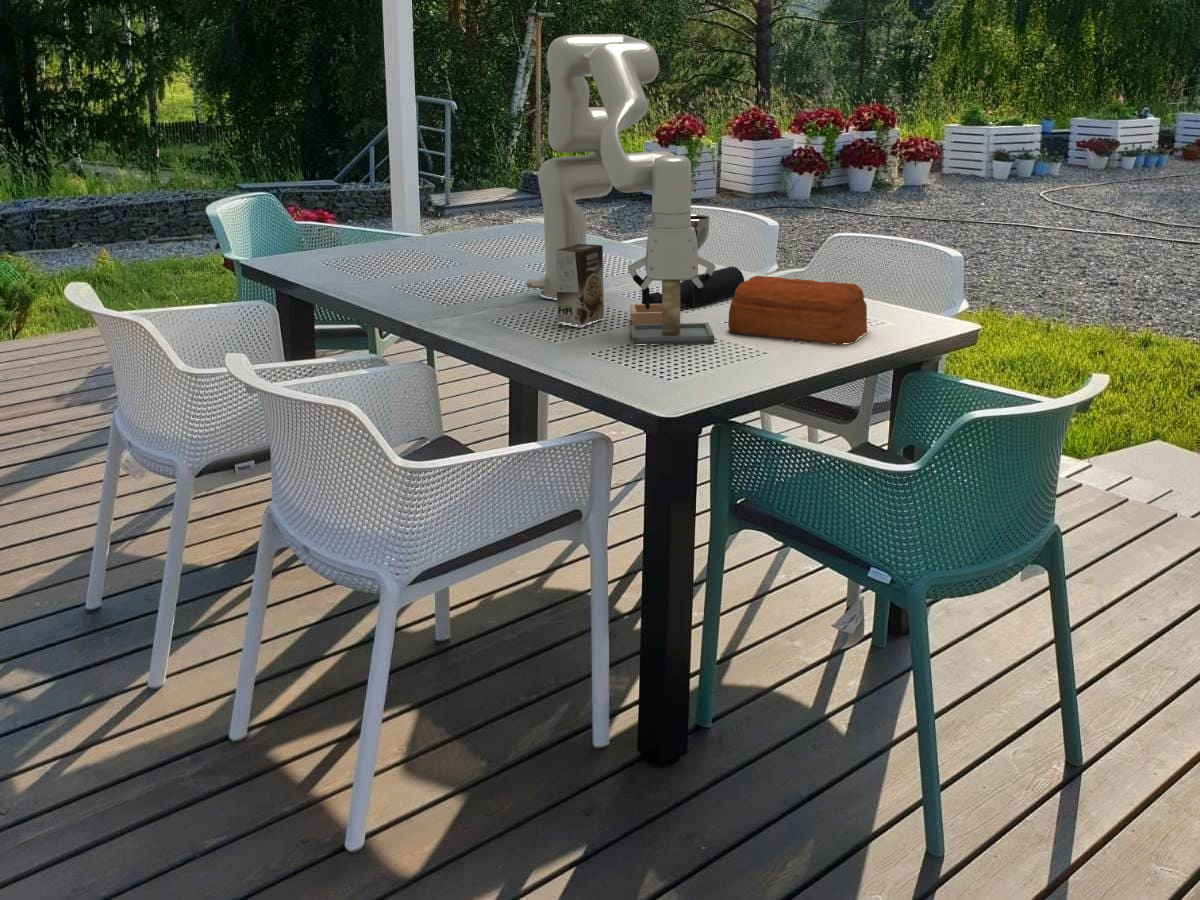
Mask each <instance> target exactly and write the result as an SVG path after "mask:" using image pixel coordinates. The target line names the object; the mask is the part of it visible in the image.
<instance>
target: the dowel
mask: <svg viewBox="0 0 1200 900" xmlns="http://www.w3.org/2000/svg"><path fill="white" fill-rule="evenodd" d="M680 283H681V280H666V281H661V294H662V334H663V335H665V336H677V335H680V323H681V304H680Z"/></svg>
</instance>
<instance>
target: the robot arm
mask: <svg viewBox="0 0 1200 900" xmlns="http://www.w3.org/2000/svg"><path fill="white" fill-rule="evenodd" d="M659 65H660V63H659V58H658V55H657V53H656V51H655V49H654V47H653V46H652V45H651V44H650V43H649V42H647V41H645V40H642V39H639V38H635V37H632V36H629V35H626V34H621V33H607V34H606V33H603V34H601V33H600V34H599V33H598V34H596V33H595V34H588V33H587V34H584V33H583V34H570V35H563V36H559V37H557V38H555V39H554V40H552V41H551V43H550V45H549V47H548V50H547V54H546V67H547V68H546V69H547V73H548V78H549V84H550V94H549V95H550V98H549V112H548V127H547V128H548V129H547V139H548V145H549V146H550V148H551V149H552V150H553V151H556V152H558V153H565V154H566V153H567V154H568V153H570V154H572V153H583V152H586V153H587V152H590V153H589V154H588V155H570V156H568V155H567V156H557V157H552V158H549V159H547V160H546V161H544V162H543V163H542V164H541V165H540V167H539V169H538V173H537V179H538V181H537V182H538V186H539V192H540V197H541V200H542V201H541V202H542V208H543V209H542V210H543V225H544V226H543V228H544V231H543V232H544V254H545V255H544V257H545V258H544V259H545V264H544V265H545V274H544V276H543V277H540V279H535V278H531V279H530V278H529V279H526V288H530V289H541V290H540V291H539V294H540V293H541V294H542V295H544V296H547V297H552V298H557V273H556V250H558V249H562V248H565V247H569V246H573V245H577V244H587V223H586V218H585V214H584V213H583V211H582V209H581V208H580V206H579V205H578V204H577V202H576V200H581V199H591V198H600V197H604V196H607V195H608V194H609V193H610V192H611V191H612V189H613V187H614V188H615V189H616V190H617V191H618V192H621V193H625V194H627V193H639V192H640V193H641V192H649V191H650V192H651V195H652V196H651V198H652V199H651V202H652V204H651V206H652V207H651V208H652V211H651V213H650V214H648V215H644V222H645V223H649V224H650V225H651V227H649V228H648V232H647V239H646V247H645V256H644V257H642V258H641V259H638V260H636V261H635V262H633V263H631V264H629V265H628V266H627V270H628V273H629V274H630V275H631V276H630V277H632V280H633V281H634V282H635V283H636V284H637V285H638V286H639V288H641V304H645V307H646V309H649V308H650V294H651V292H650V291H651V289H650V287H649V286H650V285H651V284H652V283H653V282H654V281H656V282H657V281H661V282H662V281H666V280H680V281H682V280H692V281H693V282H694V286H693V305H692V306H693V308H694V309H698V308H699V305H698V303H701V288H702V287H703V285H704V284H705V283H706V282H707V281H708V280H709V279H710V277H711V275H712V273H713V271H716V265H715V263H714V262H711V261H709V260H708V259H705V258H703V257H701V256H699V253H698V252H699V250H698V251H697V239H696V232H695V228H694V227H691V215H692V163H691V160H690V158H688V157H686V156H684V155H676V154H675V153H672V152H669V151H667V150H662V151H661V150H658V151H642V152H641V151H640V152H628V153H626V152H625V151H624V148H623V145H622V143H621V141H620V140H621V139H620V134H619V133H621V132H622V131H624V130H626V129H627V128H630V127H631V126H632V125H635V124H637V122H640V121H641V120H642V119H643V117H644V116H645V115H646V114H647V112H648V109H649V101H648V99H647V96H646V94H645V92H644V89H643V87H642V85H644V84H645V85H646V84H650V83H652V82H653V81H655V79H656V77H657V76H658V75H659V69H660V66H659ZM585 77H592V79H593V80H594V81H593V82H594V84H595V86H596V90H597V91H598V94H599V97H600V99H601V102H602V105H603V106H602V107H601V106H590V107H589V102H590V87H589V84H588V81H587V80H586V78H585ZM699 265H701V266H702V267H704V268H706V270H705V271H704V273H702V274H703V275H702V276H701V277H700V278H698V276H697V275H699ZM644 266H645V272H646V275H645V276H644V278H642V277H641V276H640V275H639V274H638V272H637V271H638V269H641V268H642V267H644Z"/></svg>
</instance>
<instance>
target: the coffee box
mask: <svg viewBox="0 0 1200 900" xmlns="http://www.w3.org/2000/svg"><path fill="white" fill-rule="evenodd" d="M603 247H604V246H603V245H601V244H599V245H598V244H589V243H588V244H587V243H586V244H577V245H573V246H569V247H565V248H562V249H558V250H556V273H557V301H556V307H557V309H556V310H557V311H556V313H557V318H556V319H557V321H559V322H565V323H571V324H577V325H584V324H586V323H589V322H593V321H596V320H599V319H602V318H604V315H605V313H604V305H605V304H604V252H603V251H604V250H603V249H604V248H603ZM604 319H605V318H604ZM557 321H556V322H557Z"/></svg>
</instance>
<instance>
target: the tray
mask: <svg viewBox="0 0 1200 900" xmlns="http://www.w3.org/2000/svg"><path fill="white" fill-rule="evenodd" d="M629 326H630V328H629V329H630V331H631V333H630V336H632V338H631V341H633V343H632V345H633V344H677V345H678V344H679V345H712V344H713V345H714V344H715V334H714V332H713V330H712V328H711V325H710V324H709V322H693V323H692V322H689V323H684V322H682V323H681V322H680V335H677V336H665V335H663V334H662V324H636V325H632V324H630V325H629ZM679 345H678V346H679Z"/></svg>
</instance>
